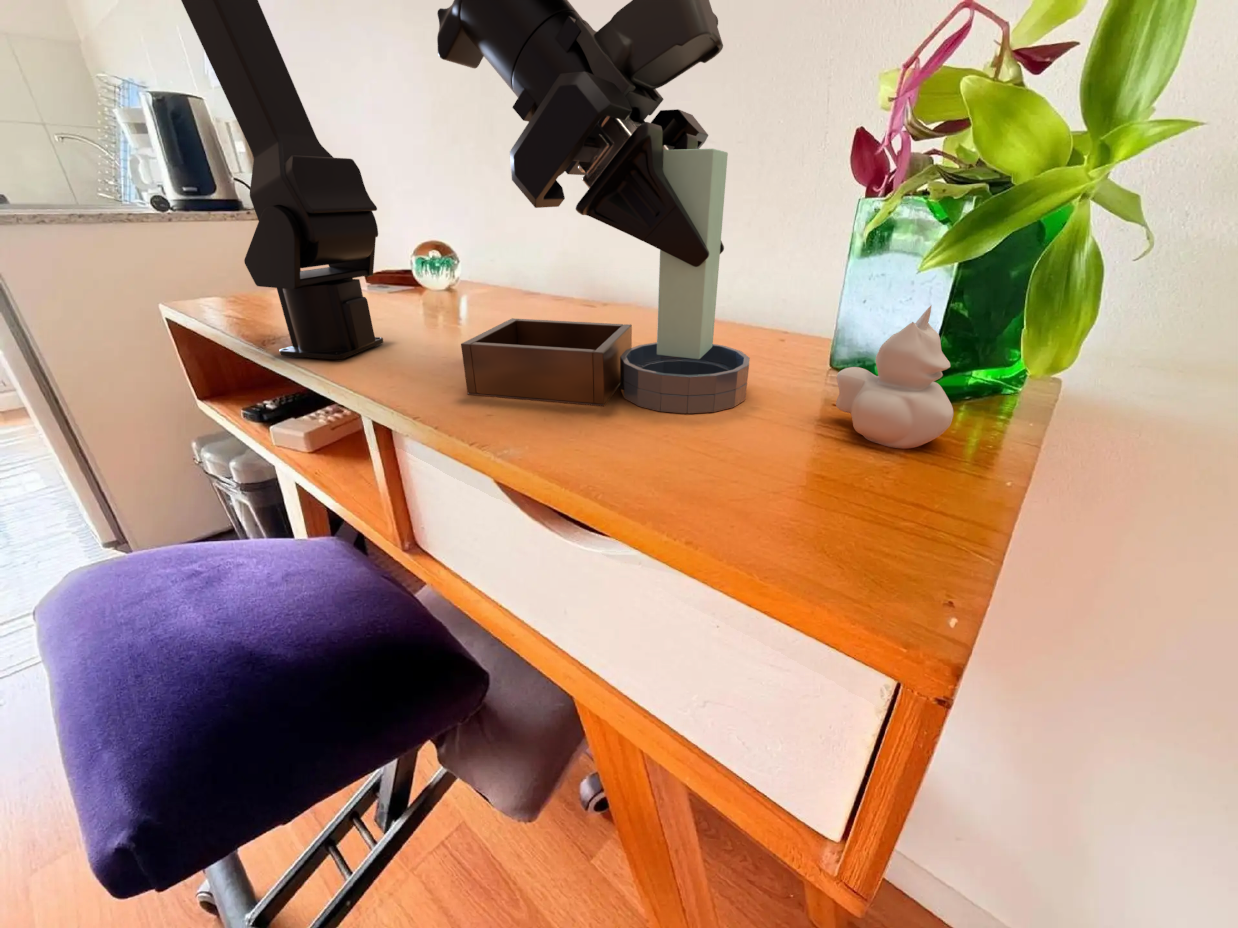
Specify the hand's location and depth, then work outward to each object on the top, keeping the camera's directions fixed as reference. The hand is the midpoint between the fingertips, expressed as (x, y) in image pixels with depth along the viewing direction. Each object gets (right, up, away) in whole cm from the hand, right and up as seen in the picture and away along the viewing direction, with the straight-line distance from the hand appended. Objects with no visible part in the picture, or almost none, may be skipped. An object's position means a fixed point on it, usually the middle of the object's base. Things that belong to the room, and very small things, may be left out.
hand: (711, 258), depth 34 cm
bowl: (-1, -8, +5) cm, 10 cm away
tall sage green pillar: (-1, -5, +3) cm, 6 cm away
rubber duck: (+10, -12, -2) cm, 15 cm away
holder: (-11, -7, +7) cm, 15 cm away
